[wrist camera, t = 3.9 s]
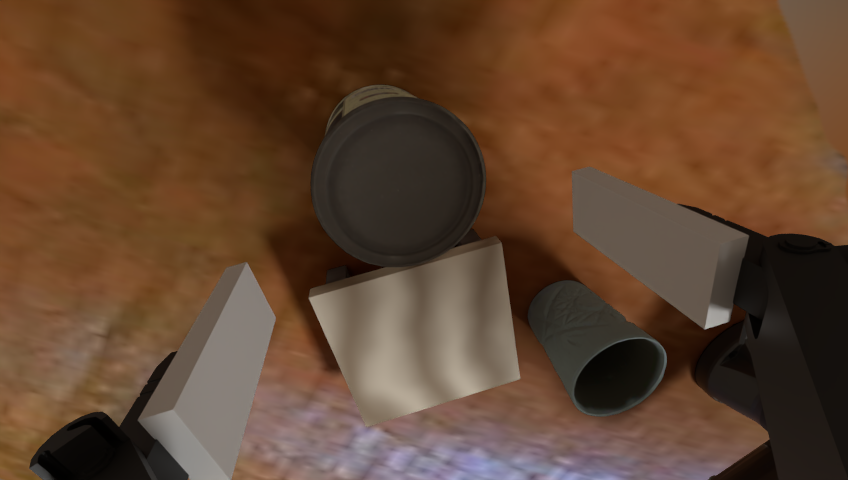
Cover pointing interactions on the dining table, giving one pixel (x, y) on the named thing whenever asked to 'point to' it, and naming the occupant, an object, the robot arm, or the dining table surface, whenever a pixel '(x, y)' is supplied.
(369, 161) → the coffee can
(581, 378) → the grey green cup
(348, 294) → the stand
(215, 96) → the dining table surface
